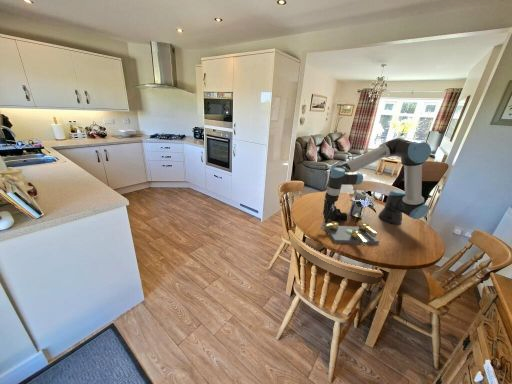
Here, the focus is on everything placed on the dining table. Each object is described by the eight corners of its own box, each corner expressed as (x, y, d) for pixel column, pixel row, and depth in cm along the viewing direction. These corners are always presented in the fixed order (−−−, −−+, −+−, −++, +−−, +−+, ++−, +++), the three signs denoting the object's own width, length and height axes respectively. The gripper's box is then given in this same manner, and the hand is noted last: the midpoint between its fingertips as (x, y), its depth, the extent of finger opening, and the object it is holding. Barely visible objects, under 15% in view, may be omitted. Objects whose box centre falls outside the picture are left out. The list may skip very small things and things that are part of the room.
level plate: (364, 229, 142) (365, 225, 141) (378, 243, 127) (379, 239, 126) (324, 228, 140) (325, 224, 139) (334, 242, 125) (335, 238, 124)
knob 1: (333, 226, 139) (335, 220, 137) (339, 230, 134) (340, 224, 133) (318, 229, 134) (320, 223, 132) (324, 233, 130) (325, 227, 128)
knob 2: (357, 227, 139) (358, 222, 137) (363, 227, 140) (365, 222, 138) (370, 238, 128) (372, 233, 126) (377, 238, 129) (379, 232, 127)
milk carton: (349, 212, 165) (356, 188, 157) (358, 214, 163) (365, 190, 155) (350, 216, 158) (357, 192, 151) (359, 218, 156) (367, 193, 149)
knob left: (349, 234, 130) (350, 229, 129) (356, 235, 130) (358, 229, 129) (359, 247, 119) (361, 241, 117) (367, 247, 119) (369, 241, 117)
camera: (348, 227, 143) (351, 215, 139) (332, 225, 143) (335, 213, 140) (342, 217, 155) (346, 205, 151) (328, 216, 156) (331, 204, 152)
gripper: (322, 188, 130) (315, 220, 140) (330, 197, 118) (321, 232, 128) (334, 189, 130) (326, 221, 140) (343, 198, 119) (333, 232, 128)
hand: (324, 226), depth 134 cm, fingers closed
